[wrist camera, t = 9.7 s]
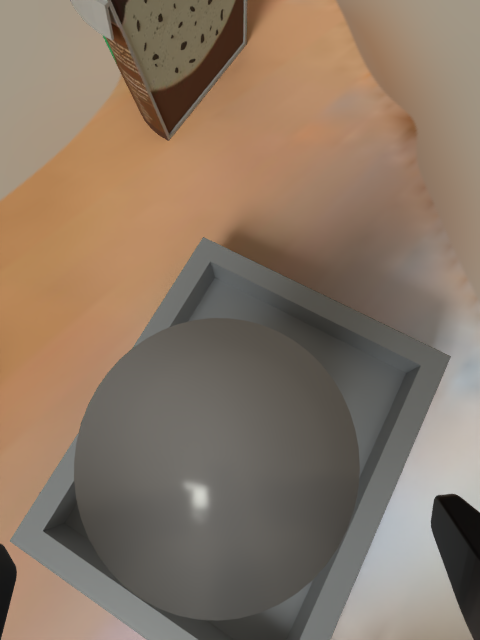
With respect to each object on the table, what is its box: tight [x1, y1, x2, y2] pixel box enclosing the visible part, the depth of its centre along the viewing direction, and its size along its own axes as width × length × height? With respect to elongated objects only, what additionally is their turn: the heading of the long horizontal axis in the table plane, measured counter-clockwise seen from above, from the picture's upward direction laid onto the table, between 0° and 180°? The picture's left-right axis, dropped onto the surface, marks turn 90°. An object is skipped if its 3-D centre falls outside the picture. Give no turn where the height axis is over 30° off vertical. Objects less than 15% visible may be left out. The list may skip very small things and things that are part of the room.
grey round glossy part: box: [74, 318, 360, 621], centre depth 14 cm, size 6×6×12 cm
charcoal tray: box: [10, 237, 451, 640], centre depth 20 cm, size 16×13×3 cm
